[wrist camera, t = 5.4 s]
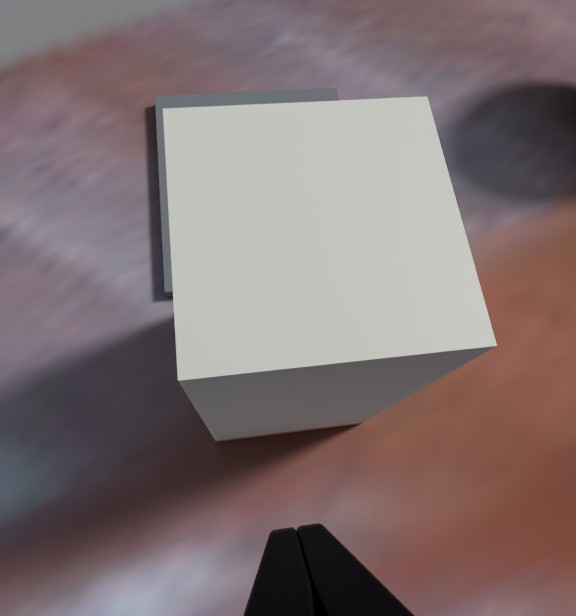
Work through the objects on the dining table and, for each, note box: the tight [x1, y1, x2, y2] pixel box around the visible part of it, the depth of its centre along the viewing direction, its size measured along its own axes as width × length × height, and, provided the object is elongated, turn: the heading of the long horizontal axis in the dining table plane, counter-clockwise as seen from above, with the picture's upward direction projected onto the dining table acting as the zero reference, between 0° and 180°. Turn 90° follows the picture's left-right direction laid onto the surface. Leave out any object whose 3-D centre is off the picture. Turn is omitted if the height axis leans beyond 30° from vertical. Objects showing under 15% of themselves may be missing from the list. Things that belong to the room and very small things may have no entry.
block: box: [163, 97, 497, 442], centre depth 12 cm, size 4×4×9 cm
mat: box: [155, 88, 339, 297], centre depth 18 cm, size 8×7×1 cm
